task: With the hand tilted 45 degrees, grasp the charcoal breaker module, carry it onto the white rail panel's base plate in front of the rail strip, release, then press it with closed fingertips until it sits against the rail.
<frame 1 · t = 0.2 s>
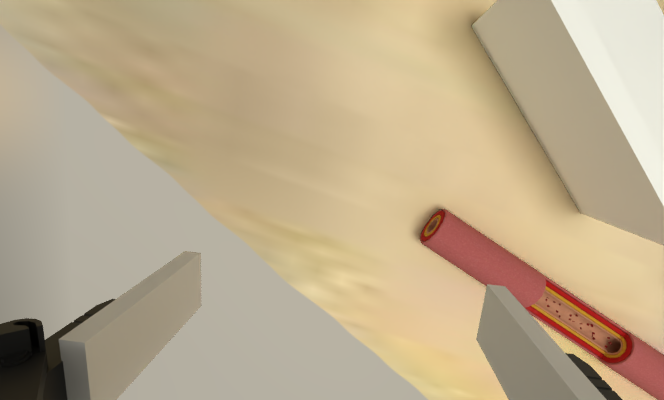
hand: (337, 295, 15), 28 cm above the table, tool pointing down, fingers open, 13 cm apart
rail panel: (594, 81, 37), on the table
blood vessel: (558, 306, 44), on the table
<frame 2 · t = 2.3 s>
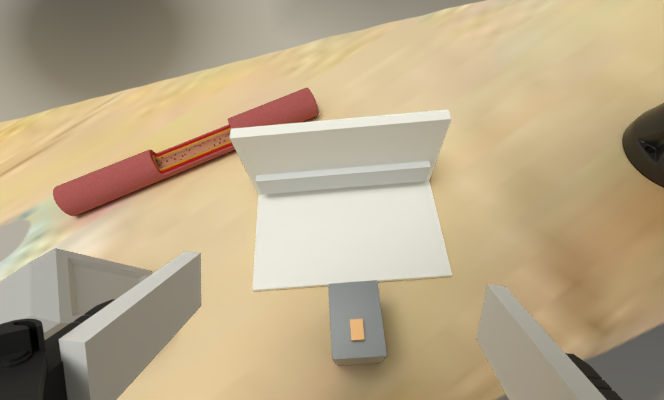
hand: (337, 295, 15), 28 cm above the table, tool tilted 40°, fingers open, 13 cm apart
rail panel: (346, 229, 47), on the table
module: (355, 332, 41), on the table
blood vessel: (203, 158, 56), on the table
grey angled piece: (50, 361, 41), on the table
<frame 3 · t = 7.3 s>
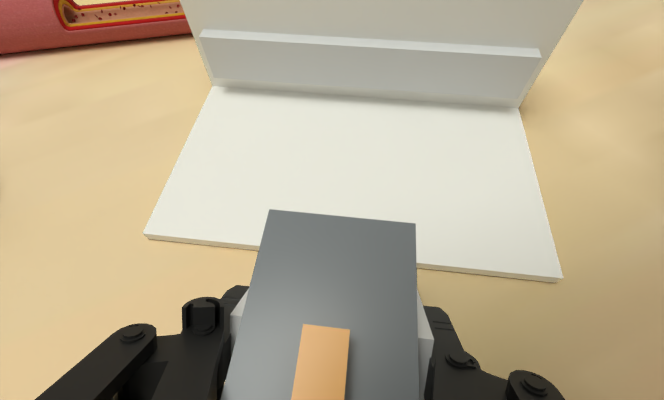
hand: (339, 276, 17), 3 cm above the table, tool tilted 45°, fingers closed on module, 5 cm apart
rail panel: (353, 162, 25), on the table
module: (332, 363, 18), on the table, touching gripper
blood vessel: (150, 36, 36), on the table
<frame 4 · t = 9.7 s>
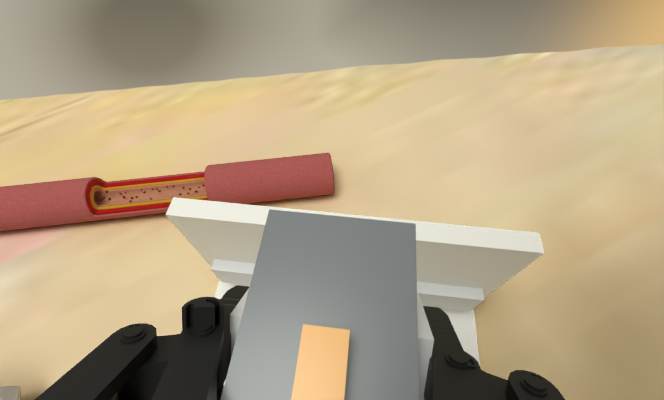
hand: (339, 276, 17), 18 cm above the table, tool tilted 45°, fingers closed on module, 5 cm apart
rail panel: (336, 362, 31), on the table
module: (332, 363, 18), point 15 cm above the table, touching gripper
blood vessel: (165, 204, 41), on the table
when the fingers open (6 cm above the table, at t = 12.1 s): module drops 1 cm, resting on rail panel.
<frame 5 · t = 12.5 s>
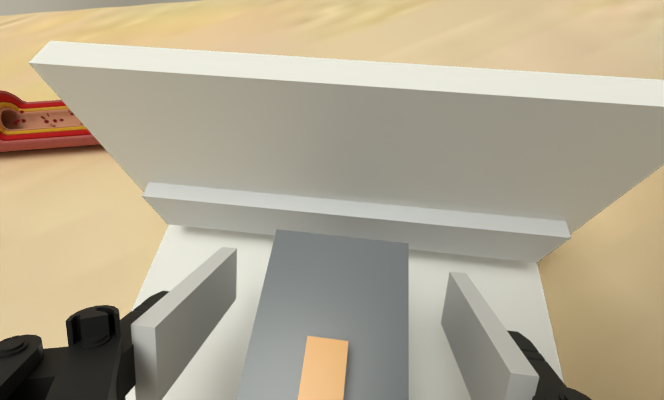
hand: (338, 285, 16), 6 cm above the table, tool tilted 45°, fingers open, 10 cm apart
rail panel: (335, 339, 21), on the table
module: (332, 367, 19), point 1 cm above the table, touching rail panel
blood vessel: (107, 137, 31), on the table
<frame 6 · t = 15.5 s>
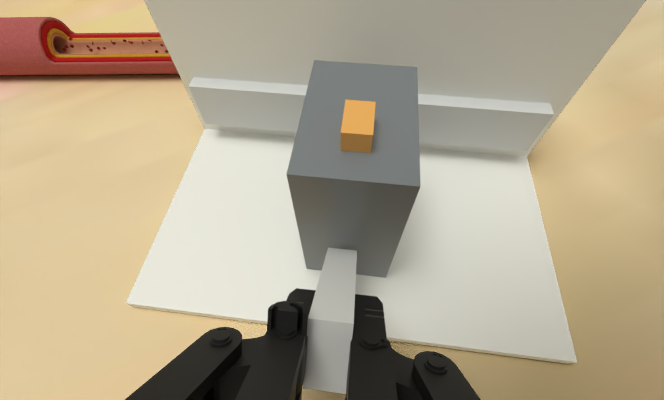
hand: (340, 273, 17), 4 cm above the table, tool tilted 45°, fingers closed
rail panel: (352, 217, 24), on the table
module: (350, 224, 23), point 1 cm above the table, touching gripper
blood vessel: (142, 70, 34), on the table
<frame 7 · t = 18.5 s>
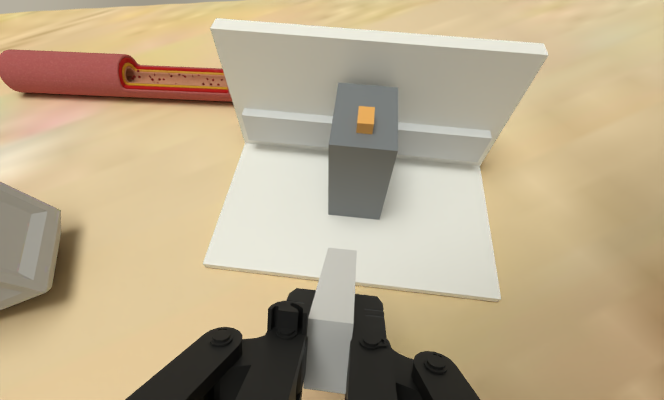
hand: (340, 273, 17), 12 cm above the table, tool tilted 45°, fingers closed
rail panel: (355, 207, 34), on the table
module: (356, 187, 34), point 1 cm above the table, touching rail panel
blood vessel: (189, 96, 43), on the table
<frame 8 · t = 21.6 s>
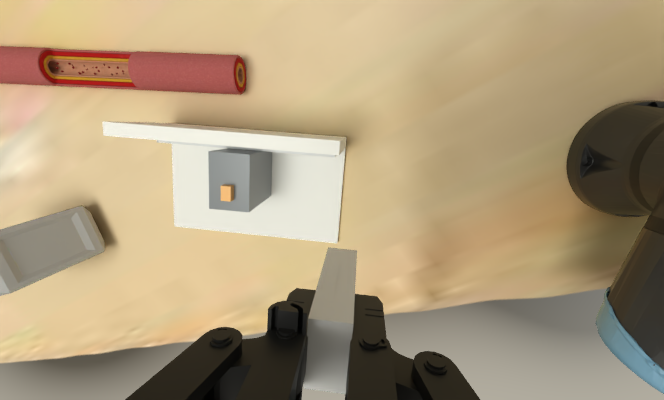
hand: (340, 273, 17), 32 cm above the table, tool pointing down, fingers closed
rail panel: (257, 183, 50), on the table
module: (255, 171, 49), point 1 cm above the table, touching rail panel
blood vessel: (110, 72, 49), on the table
grey angled piece: (33, 248, 57), on the table
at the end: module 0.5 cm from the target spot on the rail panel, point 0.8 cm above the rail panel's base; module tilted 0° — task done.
